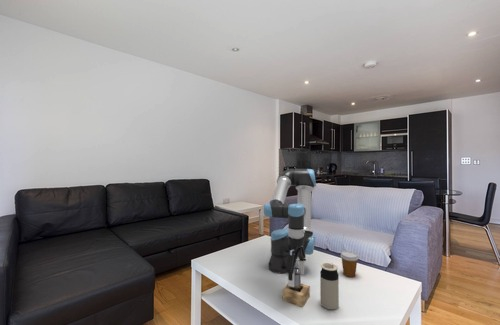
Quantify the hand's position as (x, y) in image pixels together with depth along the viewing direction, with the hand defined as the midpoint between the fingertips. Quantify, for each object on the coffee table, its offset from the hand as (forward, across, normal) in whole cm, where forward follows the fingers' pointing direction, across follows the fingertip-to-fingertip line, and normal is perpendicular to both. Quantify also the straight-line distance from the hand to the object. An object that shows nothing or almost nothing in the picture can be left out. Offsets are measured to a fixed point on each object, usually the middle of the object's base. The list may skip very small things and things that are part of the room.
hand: (296, 279), depth 113 cm
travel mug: (+9, +3, -15) cm, 18 cm away
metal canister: (+9, 0, 0) cm, 9 cm away
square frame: (+9, 0, 0) cm, 9 cm away
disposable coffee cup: (+9, +38, -18) cm, 43 cm away
